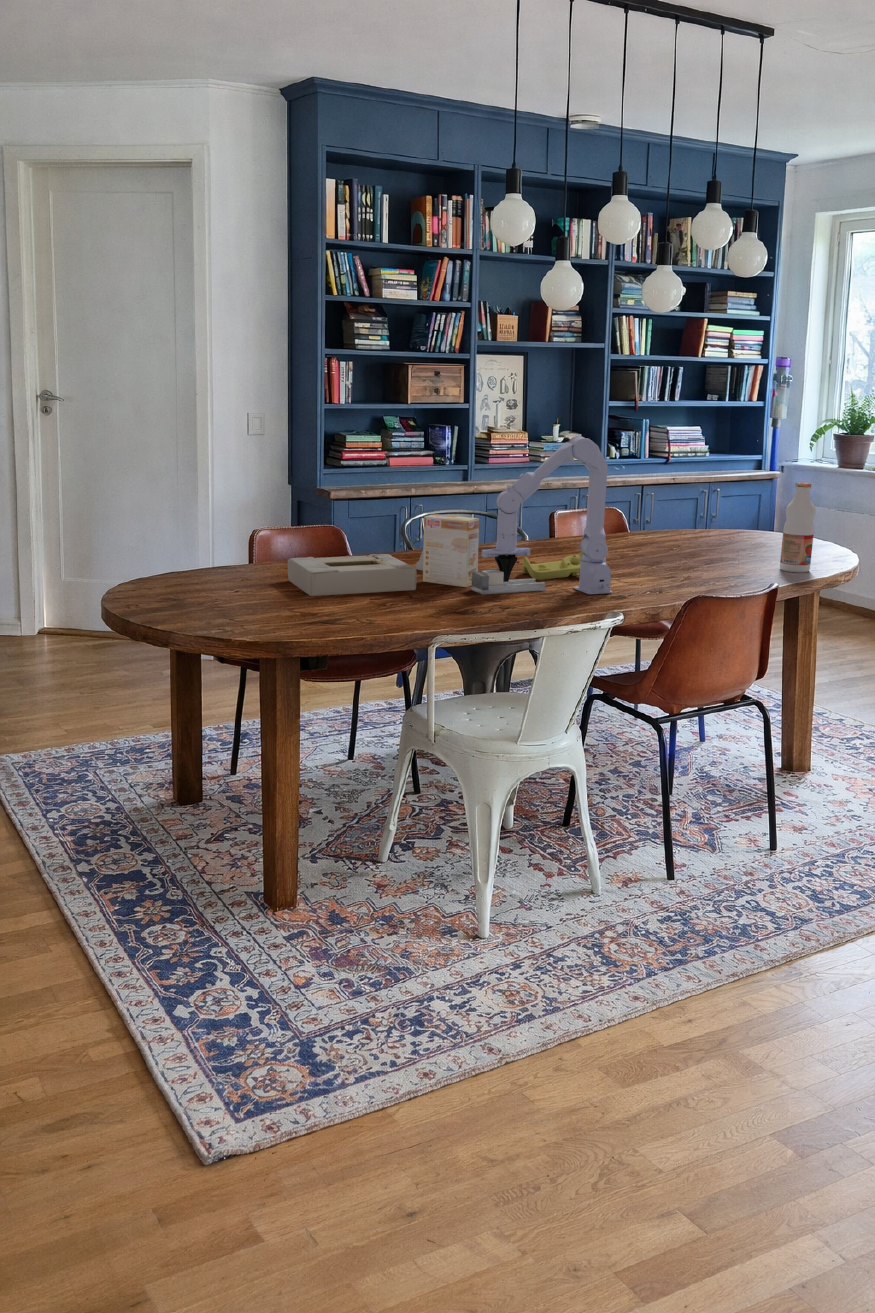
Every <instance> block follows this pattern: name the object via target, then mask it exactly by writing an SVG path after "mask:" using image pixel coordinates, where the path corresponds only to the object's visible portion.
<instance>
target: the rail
mask: <svg viewBox="0 0 875 1313" xmlns="http://www.w3.org/2000/svg"><path fill="white" fill-rule="evenodd" d="M536 580H537V579H533V578H519V579H509V581H508V582H504V581H503V585H493V586H489V576H488V575H485V574H483V573H482V571H481V572H480V571H478V572H472V586H471V590H472V591H473V592H475V593H477V594H480V595H499V594H511V593H512V594H513V593H527V592H529V593H531V592H543V591H546V582H544V581H542V582H537V581H536Z"/></svg>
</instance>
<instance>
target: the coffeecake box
mask: <svg viewBox="0 0 875 1313" xmlns="http://www.w3.org/2000/svg"><path fill="white" fill-rule="evenodd" d="M479 536H480V518H479V517H478V518H477V517H468V516H457V515H448V514H437V513H435V514H429V515H425V516H423V548H424V549H422V551H423V570H422V582H423V583H432V584H438V585H447V586H453V587H462V588H469V587H472V572H479V570H478V568H479V566H478V565H479V540H480V538H479Z"/></svg>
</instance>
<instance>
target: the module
mask: <svg viewBox="0 0 875 1313" xmlns="http://www.w3.org/2000/svg"><path fill="white" fill-rule="evenodd" d="M481 573H483V574H485V575H488V576H489V586H493V585H503V577H504V572H502V571H500V570H499V569H488V570H487V569H485V570H482V571H481Z"/></svg>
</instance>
